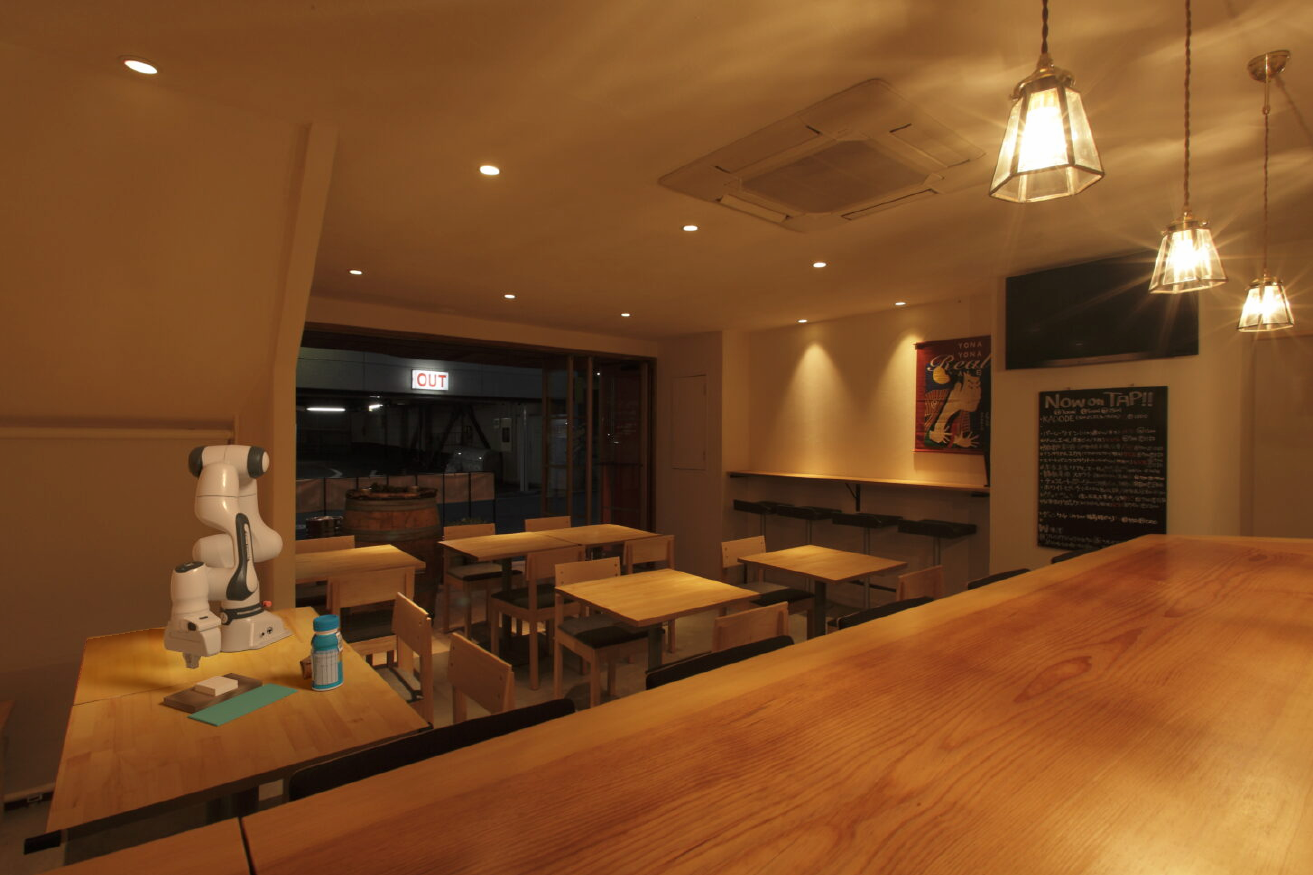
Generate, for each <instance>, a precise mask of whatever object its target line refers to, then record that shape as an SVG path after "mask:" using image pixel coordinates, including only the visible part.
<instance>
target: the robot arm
mask: <svg viewBox="0 0 1313 875" xmlns="http://www.w3.org/2000/svg"><path fill="white" fill-rule="evenodd" d="M269 466H270V457H269V454H268V451H267V449H265V448H264V447H262V446H259V445H251V446H250V445H242V444H241V445H240V444H227V445H226V444H225V445H224V444H222V445H219V444H218V445H200V446H196V447H194V448H193V449H192V450H191V451H190V452H189V455H188V458H187V468H188V471H189V473H190V474H191V475H192V476H193V477H194V478H197V479H198V482H197V486H196V491H195V497H194V499H195V500H194V515H195V516H196V518H197V519H198V520H199V522H201V523H202V524H204V525H205V526H208V527H209V528H210V527H211V528H213V529H216V530H219V531H222V532H224V533H218V534H217V533H216V534H213V535H209V536H204V537H201V538H199V539H198V540H197V541H196V542H195V544H194V545H193V547H192V551H191V555H192V558H193V561H188V562H184V563H180V564H179V565H177V566H176V567H174V568H173V570H172V574H171V580H170V599H171V601H172V608H171V610H170V612H171V614H170V616H171V617H170V619H168V621H167V625H166V626H165V629H164V638H163V640H164V641H163V644H164V645H163V646H164V649H165V650H167V651H170V652H176V653H182V657H183V659H184V662H185V668H187V669H190V670H195V669H198V668H199V666H200V661H201V658H203V657H204V658H209V657H213V656H216V655H218V654H219V653H220V652H226V653H229V652H230V653H231V652H242V651H246V650H247V651H248V650H259V649H261V648H262V649H263V648H264V647H266V646H269V645H270V644H273V643H275V642H278V641H281V640H282V639H285V638H287V637H289V636H291V635H293V633H292V630H291V629H289V628H285V624H284V622H283V621H284V620H283V619H282V618H281V617H280V616H279V615H276V614H274V613H272V612H270V611H267V610H266V609H265V607H266V608H270V607H271V606H272V604H273V603H272V601H269V600H264V601H263V600H260V597H261V596H260V581H259V577H258V573H257V570H256V566H255V563H260V562H261V563H262V562H265V561H268V560H271V559H275V558H277V557H278V556H280V554H281V552H282V550H283V547H284V546H283V545H284V544H283V538H282V536H281V535H280V534H279V533H278V532H277V531H276V530H274V529H272V528H271V527H270V526H268V525H267V524H265V522H264V521H263V519H262V517H261V515H260V511H259V505H258V504H259V503H258V483H257V482H258V481H257V479H258V478H261V477H262V476H264V475H265V474H266V473H267V471H268V468H269ZM210 601H212V602H217V601H220V603H221V604H220V605H221V606H220V607H219V616H217V615H216V614H214V613H213V612H212V611H211V610H210V609H211V607H210V603H209V602H210ZM219 627H220V628H219Z"/></svg>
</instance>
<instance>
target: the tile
mask: <svg viewBox="0 0 1313 875" xmlns="http://www.w3.org/2000/svg"><path fill="white" fill-rule="evenodd" d="M221 676H222V675H221ZM221 676H220V675H215V676H212V677H209V678H207V679H204V680H202V681H199V682H196V683H194V686H195V691H198V692H201V693H205V694H209V695H212V696H218V695H220V694H223V693H225V692H228V691H230V690H233V689H236V688H238V681H237V680H233V679H229V678H225V677H221Z"/></svg>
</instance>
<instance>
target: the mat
mask: <svg viewBox="0 0 1313 875" xmlns="http://www.w3.org/2000/svg"><path fill="white" fill-rule="evenodd" d="M297 692H298V689H297V688H292V687H288V686H284V685H279V684H275V683H271V682H267V683H266V684H262V686H261V687H258V688H256V689H253V690H251V691H248V692H246V693H243V694H241V695H238V696H236V697H233V698H231V699H228V700H226V701H223V702H221V703H218V704H216V705H213V706H211V707H208V708H206V709H204V710H201V711H199V712H196V713H191V714H189V715H187V718H189V719H191V720H195V721H198V722H202V723H205V724H209V725H211V726H215V727H219V726H222V725H223V724H227V723H228V722H230V721H233V720H235V719H237V718H239V717H242V716H245V715H246V714H250V713H251V712H253V711H256V710H258V709H261V708H263V707H265V706H267V705H270V704H272V703H274V702H277V701H279V700H281V699H283V698H286V697H287V696H288V697H289V696H290V695H293V694H295V693H297Z"/></svg>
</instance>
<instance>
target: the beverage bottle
mask: <svg viewBox="0 0 1313 875" xmlns="http://www.w3.org/2000/svg"><path fill="white" fill-rule="evenodd" d="M339 628H340V616H339V615H337V614H323V615H320V616H317V617H315V618H313V620H312V629H313V632H315V633H314V634H313V636H312V637H311V640H310V646H311V649H310V652H309V653H310V655H311V665H312V678H311V688H312V690H314V691H316V692H326V691H331V690H335V689H337V688H340V686H342V685H343V684H344V670H343V669H344V664H343V651H344V644H342V642H343V636H342V633H341V632H340V631H339ZM310 655H309V656H310Z"/></svg>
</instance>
